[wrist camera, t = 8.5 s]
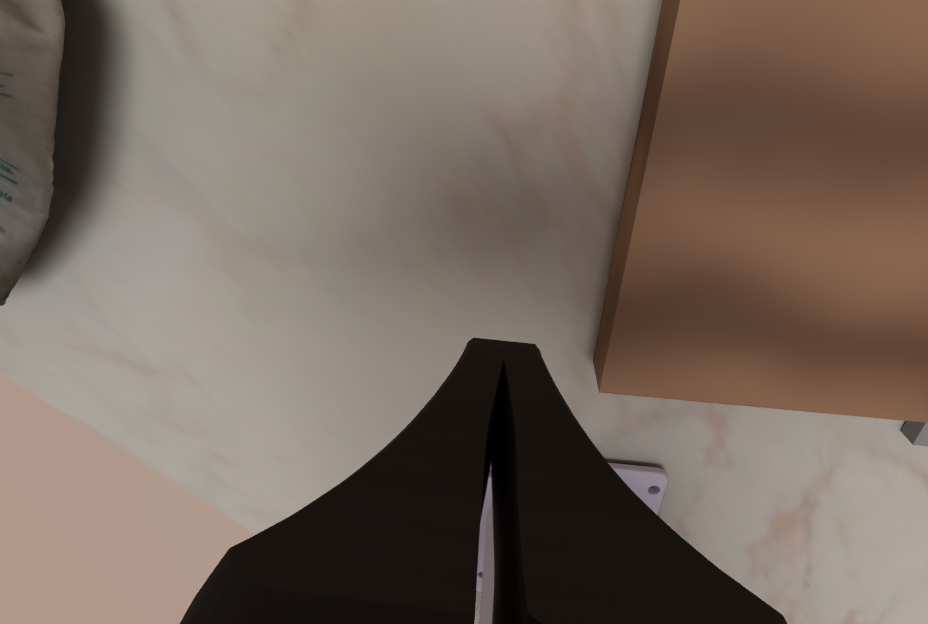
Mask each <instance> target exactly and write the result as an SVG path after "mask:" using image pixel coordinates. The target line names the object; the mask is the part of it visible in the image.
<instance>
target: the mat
mask: <svg viewBox="0 0 928 624" xmlns="http://www.w3.org/2000/svg"><path fill="white" fill-rule="evenodd" d="M901 432H902V433H903V434H904V435H905V436H906V437H907V439H908V440H909V441H910V442H911V443H912V444H913V445H921V446H928V423H926V422H915V421H906V422H905V424H904V426H903V428H902V429H901Z"/></svg>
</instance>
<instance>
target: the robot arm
mask: <svg viewBox="0 0 928 624" xmlns="http://www.w3.org/2000/svg"><path fill="white" fill-rule="evenodd" d="M490 470H491V471H490ZM667 483H668V478H667V474H666V472H665V471H664V470H663V469H661V468H656V467H646V466H636V465H626V464H616V463H608V462H607V461H606V460H605V459H604V457H603V456H602V455H601V453H600V452H599V451H598V449H597V448H596V447H595V446H594V444H593V443H592V441H591V440H590V439H589V437H588V436H587V434H586V433H585V432H584V430H583V429H582V427H581V426H580V424H579V423H578V421H577V420H576V418H575V417H574V415H573V414H572V412H571V410H570V409H569V407H568V405H567V404H566V402H565V400H564V399H563V397H562V395H561V394H560V392H559V390H558V388H557V387H556V385H555V383H554V381H553V379H552V377H551V375H550V373H549V371H548V369H547V367H546V365H545V363H544V360H543V358H542V356H541V353H540V350H539V349H538V348H537V346H536V345H535V344H529V343H519V342H510V341H500V340H490V339H481V338H473V339H471V340H470V341H469V342H468V343H467V346H466V348H465V350H464V352H463V354H462V356H461V357H460V359H459V361H458V363H457V364H456V366H455V367H454V369H453V370H452V372H451V373H450V375H449V376H448V377H447V379H446V380H445V381H444V383H443V384H442V386H441V387H440V388H439V390H438V391H437V392H436V394H435V395H434V396H433V397H432V399H431V400H430V401H429V402H428V403H427V404H426V405H425V407H424V408H423V409H422V410H421V411H420V412H419V413H418V415H417V416H416V417H415V418H414V419H413V420H412V421H411V422H410V423H409V424H408V426H407V427H406V428H405V429H404V430H403V431H402V432H401V433H400V434H399V435H398V436H397V437H396V438H394V439H393V440H392V441H391V442H390V443H389V444H388V445H387V446H386V447H385V448H384V449H383V450H381V451H380V452H379V453H378V454H377V455H375V456H374V457H373V458H372V459H371V460H369V461H368V462H367V463H366V464H365V465H363V466H362V467H361V468H360V469H359V470H357V471H356V472H355V473H353V474H352V475H351V476H349V477H348V478H347V479H345V480H344V481H343V482H341V483H340V484H339V485H337V486H336V487H334V488H333V489H331V490H330V491H328V492H327V493H325V494H324V495H322V496H321V497H319V498H318V499H316V500H315V501H313V502H312V503H310V504H309V505H307V506H306V507H304V508H303V509H301V510H299V511H298V512H296V513H295V514H293V515H291V516H290V517H288V518H286V519H284V520H283V521H281V522H279V523H277V524H275V525H273V526H271V527H269V528H268V529H266V530H264V531H262V532H260V533H258V534H256V535H255V536H253V537H251V538H249V539H247V540H245V541H243V542H241V543H239V544H237V545H235V546H233V547H231V548H230V549H229V550H228V551H227V553H226V554H225V555H224V557H223V558H222V559H221V561H220V562H219V564H218V565H217V566H216V568H215V569H214V571H213V572H212V573H211V575H210V576H209V578H208V579H207V581H206V582H205V583H204V585H203V586H202V588H201V589H200V590H199V592H198V593H197V595H196V597H195V598H194V599H193V601H192V603H191V605H190V606H189V608H188V610H187V612H186V613H185V615H184V617H183V619H182V621H181V623H180V624H474V619H475V603H476V591H477V592H480V593H481V604H480V618H479V624H787V622H786V620H785V618H784V617H783V615H782V614H780V613H779V612H777V611H776V610H775V609H773V608H772V607H771V606H769V605H768V604H767V603H765V602H764V601H762V600H761V599H760V598H758V597H757V596H756V595H754V594H753V593H752V592H750V591H749V590H747V589H746V588H745V587H743V586H742V585H741V584H739V583H738V582H736V581H735V580H734V579H732V578H731V577H730V576H728V575H727V574H726V573H724V572H723V571H721V570H720V569H719V568H718V567H716V566H715V565H714V564H713V563H711V562H710V561H709V560H708V559H707V558H705V557H704V556H703V555H702V554H701V553H699V552H698V551H697V550H696V549H695V548H693V547H692V546H691V545H690V544H689V543H687V542H686V541H685V540H684V539H683V538H681V537H680V536H679V535H678V534H677V533H676V532H675V531H674V530H672V529H671V528H670V527H669V526H668V525H667V524H666V523H665V522H664V521H663V520H662V519H661V518H660V517H659V516H658V512H659V509H660V506H661V502H662V499H663V496H664V493H665V490H666V486H667ZM651 486H656V487H653V488H650V487H651Z"/></svg>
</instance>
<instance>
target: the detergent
mask: <svg viewBox="0 0 928 624" xmlns="http://www.w3.org/2000/svg"><path fill="white" fill-rule="evenodd" d="M64 29H65V18H64V13H63V8H62V1H61V0H0V306H2V305H4V304H5V301H6V299H7V298H8V296H9V294H10V292H11V290H12V289H13V288H14V286H15V284H16V283H17V281H18V279H19V277H20V276H21V274H22V271H23V269H24V267H25V265H26V263H27V261H28V259H29V257H30V256H31V254H32V252H33V249H34V247H35V246H36V244H37V242H38V240H39V238H40V235H41V233H42V231H43V229H44V228H45V225H46V221H47V219H48V217H49V209H50V206H51V198H52V195H53V192H54V187H53V184H52V182H53V179H54V176H53V170H54V162H53V159H52V156H53V153H54V145H55V140H54V131H55V127H56V116H57V101H58V89H59V72H60V66H61V61H62V57H63V48H64Z"/></svg>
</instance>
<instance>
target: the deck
mask: <svg viewBox="0 0 928 624" xmlns="http://www.w3.org/2000/svg"><path fill="white" fill-rule="evenodd" d="M593 363H594V368H595V373H596V379H597V384H598V389H599V392H601V393H612V394H623V395H634V396H644V397H655V398H666V399H677V400H688V401H699V402H709V403H720V404H731V405H742V406H753V407H763V408H774V409H785V410H796V411H807V412H818V413H828V414H839V415H850V416H861V417H872V418H883V419H893V420H904V421H915V422H926V423H928V0H663V3H662V8H661V13H660V19H659V24H658V29H657V34H656V39H655V44H654V50H653V55H652V60H651V65H650V70H649V75H648V81H647V86H646V91H645V96H644V101H643V106H642V112H641V117H640V122H639V127H638V132H637V137H636V142H635V148H634V153H633V158H632V163H631V168H630V173H629V179H628V184H627V189H626V194H625V199H624V204H623V210H622V215H621V220H620V225H619V230H618V235H617V241H616V246H615V251H614V256H613V261H612V266H611V272H610V277H609V282H608V287H607V292H606V297H605V303H604V308H603V313H602V318H601V323H600V328H599V334H598V339H597V344H596V349H595V354H594V359H593Z"/></svg>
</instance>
